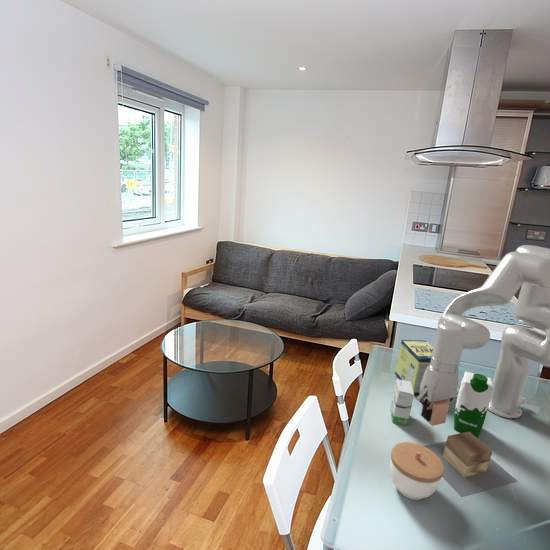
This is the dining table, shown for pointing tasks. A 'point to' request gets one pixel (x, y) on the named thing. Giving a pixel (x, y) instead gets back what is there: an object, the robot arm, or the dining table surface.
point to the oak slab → (461, 466)
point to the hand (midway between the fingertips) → (433, 416)
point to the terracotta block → (438, 412)
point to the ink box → (401, 402)
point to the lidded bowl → (415, 470)
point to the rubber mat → (472, 483)
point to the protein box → (413, 362)
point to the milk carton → (472, 403)
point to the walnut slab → (468, 448)
